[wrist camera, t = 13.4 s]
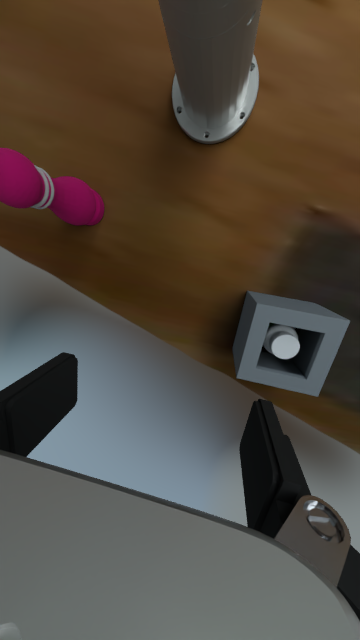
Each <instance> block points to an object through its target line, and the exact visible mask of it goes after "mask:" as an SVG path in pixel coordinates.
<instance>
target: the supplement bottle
mask: <svg viewBox="0 0 360 640" xmlns="http://www.w3.org/2000/svg"><path fill="white" fill-rule="evenodd" d="M263 345H264V347H265V349H266V350H267V351H268V352H270V353H272V354H274V355H275V356H276V357H278V358H280V359H289V358H292V357H294V356H295V355H296V354H297V353H298V351H299V349H300V344H299V341H298V335H297V332H296V331H295V330H294V328H293V327H291V326H286V325H280V324H275V323H269V326H268V329H267V333H266V336H265V339H264V342H263Z"/></svg>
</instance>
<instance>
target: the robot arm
mask: <svg viewBox="0 0 360 640" xmlns="http://www.w3.org/2000/svg"><path fill="white" fill-rule="evenodd" d="M158 1H159V5H160V9H161V13H162V18H163V22H164V26H165V30H166V34H167V39H168V43H169V47H170V51H171V56H172V60H173V64H174V68H175V72H176V73H175V76H174V80H173V86H172V102H173V109H174V112H175V116H176V118H177V121H178V123H179V125H180V127H181V128H182V130H183V131H184V132H185V133H186V134H187V135H188V136H189V137H190V138H192V139H193V140H195V141H197V142H200V143H205V144H215V143H219V142H222V141H225V140H226V139H228V138H230V137H232V136H233V135H234V134H235V133H237V132H238V131H239V130H240V129H241V128H242V126H243V125H244V124H245V122H246V121H247V119H248V118H249V116H250V114H251V112H252V110H253V108H254V104H255V101H256V97H257V92H258V86H259V72H258V65H257V62H256V58H255V56H254V54H253V52H254V46H255V40H256V34H257V29H258V23H259V17H260V11H261V5H262V0H158ZM250 70H252V71H250ZM179 112H181V113H179ZM241 117H242V118H243V119H240V118H241ZM206 136H208V138H205V137H206ZM77 366H78V361H77V358H75V355H73V354H69V353H61V354H59V355H58V356H56V357H54V358H53V359H51V360H50V361H48V362H47V363H45V364H43V365H42V366H40V367H38V368H37V369H35V370H34V371H32V372H31V373H29V374H28V375H26V376H24V377H22V378H21V379H19V380H17V381H16V382H15V383H13V384H11V385H9V386H8V387H6V388H5V389H3V390H1V391H0V640H360V553H359V552H358V551H357V550H355V549H354V548H353V547H352V546H351V545H350V543H351V537H350V533H349V529H348V528H347V526H346V524H345V522H344V520H343V519H342V518H341V516H340V515H339V514H338V513H337V511H335V510H334V509H333V508H332V507H331V506H330V505H329V504H328V503H326V502H325V501H323V500H322V499H320V498H318V497H315V496H311V493H310V490H309V488H308V485H307V483H306V480H305V477H304V475H303V472H302V470H301V467H300V464H299V462H298V459H297V457H296V454H295V452H294V449H293V447H292V444H291V441H290V439H289V437H288V436H287V435H284V434H283V432H282V429H281V426H280V423H279V421H278V418H277V415H276V413H275V410H274V407H273V404H272V402H270V401H266V400H262V399H258V401H254V402H253V405H252V408H251V411H250V414H249V417H248V420H247V424H246V427H245V430H244V433H243V436H242V439H241V443H240V459H241V468H242V477H243V486H244V496H245V505H246V515H247V524H248V527H246V526H243V525H241V524H238V523H235V522H232V521H229V520H226V519H223V518H220V517H217V516H214V515H211V514H208V513H205V512H202V511H199V510H196V509H193V508H190V507H187V506H183V505H181V504H177V503H174V502H171V501H168V500H165V499H161V498H158V497H155V496H152V495H149V494H145V493H142V492H139V491H136V490H133V489H129V488H126V487H122V486H120V485H116V484H113V483H110V482H106V481H103V480H100V479H97V478H93V477H90V476H87V475H83V474H80V473H77V472H74V471H70V470H67V469H64V468H60V467H57V466H54V465H50V464H47V463H44V462H40V461H37V460H34V459H30V458H27V455H28V454H29V453H30V452H31V451H32V450H33V449H34V448H35V447H36V446H37V445H38V444H39V443H40V442H41V441H42V440H43V439H44V438H45V437H46V436H47V434H48V433H49V432H50V431H51V430H52V429H53V428H54V427H55V426H56V425H57V424H58V423H59V422H60V421H61V420H62V419H63V418H64V416H66V415H67V414H68V413H69V411H70V410H71V409H72V408H73V407H74V406H75V404H76V402H77Z"/></svg>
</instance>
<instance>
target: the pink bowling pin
mask: <svg viewBox="0 0 360 640" xmlns="http://www.w3.org/2000/svg"><path fill="white" fill-rule="evenodd" d="M0 201H1V202H3V203H5V204H6V205H9V206H12V207H15V208H28V207H32V208H36V209H44V208H46V207H48V208H49V209H51V210H52V211H53V212H54V213H55V214H56V215H57V216H58V217H59V218H60V219H62V220H63V221H65V222H67V223H69V224H72V225H78V226H79V225H84V224H85V225H95V224H97V223H98V222H100V220H101V219H102V217H103V214H104V203H103V200H102V198H101V196H100V195H99V194H98V193H97V192H96V191H94V190H93V189H91V188H90V187H89V186H88V185H87V184H86V183H85V182H84V181H82V180H80V179H77V178H75V177H69V176H64V177H58V178H51V177H50V176H49V175H48V174H47V172H45V171H44V170H43V169H41V168H39V167H37V166H35V165H34V164H33V163H32V162H31V161H30V160H29V159H28V158H26V157H25V156H24V155H22V154H21V153H19V152H17V151H14V150H11V149H8V148H0Z"/></svg>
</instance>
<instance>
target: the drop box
mask: <svg viewBox="0 0 360 640" xmlns="http://www.w3.org/2000/svg"><path fill="white" fill-rule="evenodd" d="M269 323H275V324H280V325H286V326H291V327H296V328H301V329H300V332H299V335H298V341H299V344H300V349H299V351H298V353H297V354H296V355H295V356H294V357H292V358H289V359H280V358H278V357H276V356H275V355H274V354H272V353H268V352H263V351H261V349H262V346H263V342H264V339H265V336H266V333H267V329H268V326H269ZM349 323H350V320H348V319H346V318H344V317H342V316H340V315H338V314H336V313H334V312H332V311H330V310H328V309H326V308H324V307H322V306H320V305H318V304H316V303H312V302H306V301H301V300H295V299H290V298H284V297H279V296H273V295H268V294H262V293H257V292H251V291H247V294H246V298H245V302H244V305H243V309H242V313H241V317H240V321H239V325H238V329H237V333H236V337H235V340H234V344H233V348H232V350H233V357H234V363H235V370H236V377H237V378H239V379H243V380H248V381H252V382H257V383H261V384H265V385H270V386H274V387H278V388H283V389H287V390H291V391H296V392H300V393H304V394H309V395H313V396H318V395H319V393H320V390H321V388H322V386H323V383H324V381H325V379H326V376H327V374H328V372H329V369H330V367H331V365H332V362H333V360H334V358H335V355H336V353H337V351H338V348H339V346H340V344H341V341H342V339H343V337H344V334H345V332H346V330H347V327H348V325H349Z"/></svg>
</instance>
